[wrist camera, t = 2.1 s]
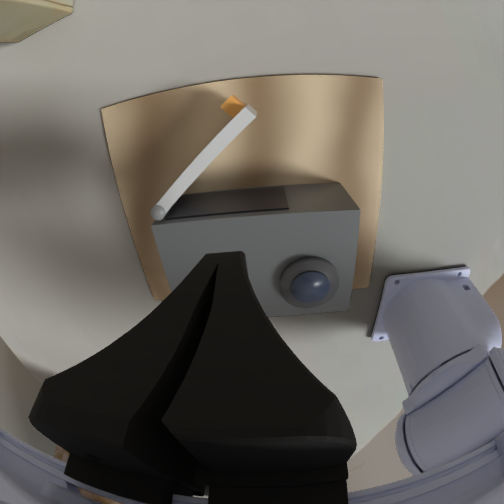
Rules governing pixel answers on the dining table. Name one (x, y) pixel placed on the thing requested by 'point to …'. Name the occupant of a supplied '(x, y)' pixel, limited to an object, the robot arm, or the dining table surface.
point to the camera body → (270, 242)
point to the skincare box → (29, 16)
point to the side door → (207, 154)
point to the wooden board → (251, 149)
